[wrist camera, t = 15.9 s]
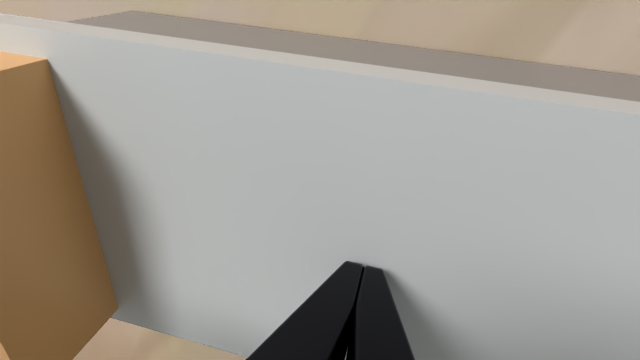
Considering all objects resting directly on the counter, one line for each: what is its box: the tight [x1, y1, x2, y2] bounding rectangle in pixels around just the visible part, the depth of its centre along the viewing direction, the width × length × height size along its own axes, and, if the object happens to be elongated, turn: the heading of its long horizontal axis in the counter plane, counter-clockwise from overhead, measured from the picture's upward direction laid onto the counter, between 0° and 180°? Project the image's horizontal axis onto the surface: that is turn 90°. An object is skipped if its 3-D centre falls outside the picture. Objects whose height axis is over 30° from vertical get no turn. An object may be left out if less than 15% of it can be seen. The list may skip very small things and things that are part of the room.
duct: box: [69, 11, 640, 102], centre depth 11 cm, size 8×18×4 cm, turn 86°
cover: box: [0, 13, 640, 360], centre depth 8 cm, size 9×18×4 cm, turn 86°
